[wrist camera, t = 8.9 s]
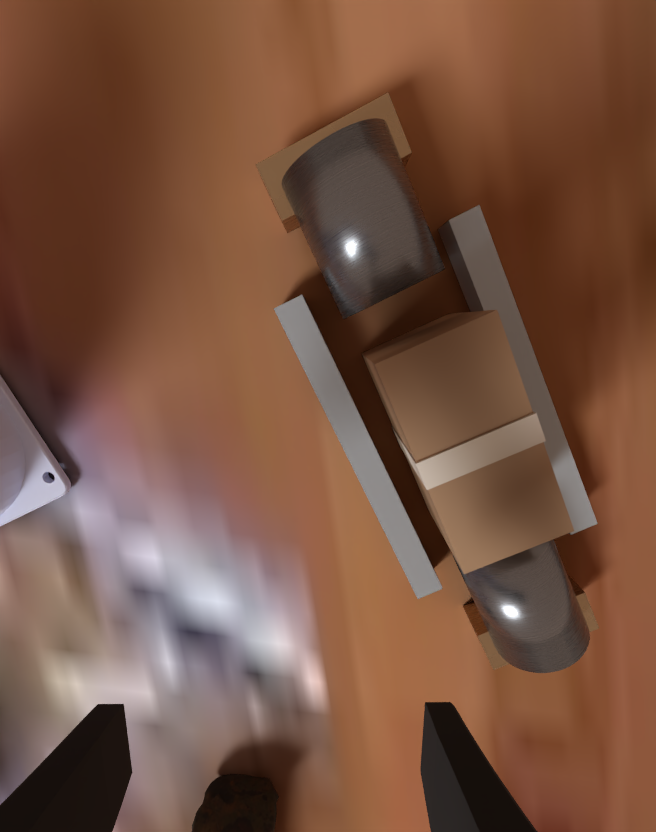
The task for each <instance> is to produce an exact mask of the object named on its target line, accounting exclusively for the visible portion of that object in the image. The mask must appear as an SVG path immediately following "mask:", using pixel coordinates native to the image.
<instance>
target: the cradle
mask: <svg viewBox="0 0 656 832" xmlns="http://www.w3.org/2000/svg"><path fill="white" fill-rule="evenodd" d="M438 231H439V233H440V236H441V239H442V241H443V244H444V246H445V249H446V251H447V254H448V256H449V259H450V261H451V264H452V266H453V269H454V271H455V274H456V276H457V279H458V282H459V284H460V287H461V289H462V292H463V294H464V297H465V299H466V302H467V304H468V307H469V309H470V312H475V311H487V310H497V311H498V313H499V316H500V319H501V322H502V325H503V328H504V331H505V333H506V336H507V339H508V342H509V345H510V348H511V351H512V353H513V356H514V359H515V362H516V365H517V368H518V371H519V373H520V376H521V379H522V382H523V385H524V388H525V391H526V394H527V396H528V399H529V402H530V405H531V408H532V411H533V412H535V413H537V416H538V419H539V422H540V425H541V428H542V431H543V434H544V436H545V439H546V441H545V442H544V445H545V448H546V451H547V454H548V457H549V459H550V462H551V465H552V468H553V471H554V474H555V477H556V479H557V482H558V485H559V488H560V491H561V494H562V497H563V499H564V502H565V505H566V508H567V511H568V514H569V517H570V520H571V522H572V525H573V528H574V531H573V532H570V533H569V534H571V535H572V534H574V533H577V532H579V531H581V530H584V529H586V528H588V527H591V526H593V525H596V524H598V523H597V521H596V518H595V515H594V513H593V510H592V507H591V505H590V502H589V499H588V496H587V494H586V491H585V488H584V486H583V483H582V480H581V478H580V475H579V472H578V469H577V467H576V464H575V461H574V459H573V456H572V453H571V451H570V448H569V445H568V442H567V440H566V437H565V434H564V432H563V429H562V426H561V424H560V421H559V418H558V415H557V413H556V410H555V407H554V405H553V402H552V399H551V397H550V394H549V391H548V388H547V386H546V383H545V380H544V378H543V375H542V372H541V370H540V367H539V364H538V361H537V359H536V356H535V353H534V351H533V348H532V345H531V343H530V340H529V337H528V335H527V332H526V329H525V326H524V324H523V321H522V318H521V316H520V313H519V310H518V308H517V305H516V302H515V299H514V297H513V294H512V291H511V289H510V286H509V283H508V281H507V278H506V275H505V272H504V270H503V267H502V264H501V262H500V259H499V256H498V254H497V251H496V248H495V245H494V243H493V240H492V237H491V235H490V232H489V229H488V227H487V224H486V221H485V218H484V216H483V213H482V210H481V208H480V205H478V206H476V207H474V208H472V209H470V210H468V211H466V212H464V213H462V214H460V215H458V216H456V217H454V218H452V219H450V220H448V221H447V222H446V223H445V224H444V225H443V226H441V227H440V228H439V229H438ZM274 310H275V312H276V314H277V316H278V318H279V320H280V322H281V324H282V326H283V328H284V330H285V332H286V334H287V336H288V338H289V340H290V342H291V344H292V346H293V348H294V350H295V352H296V354H297V356H298V359H299V361H300V363H301V365H302V367H303V369H304V371H305V373H306V375H307V377H308V379H309V381H310V383H311V385H312V387H313V389H314V391H315V393H316V395H317V397H318V399H319V401H320V403H321V405H322V407H323V409H324V411H325V413H326V415H327V417H328V419H329V421H330V423H331V425H332V427H333V429H334V431H335V433H336V435H337V437H338V439H339V441H340V443H341V445H342V447H343V449H344V451H345V453H346V455H347V457H348V459H349V461H350V463H351V465H352V467H353V469H354V471H355V473H356V475H357V477H358V479H359V481H360V483H361V485H362V487H363V490H364V492H365V494H366V496H367V498H368V500H369V502H370V504H371V506H372V508H373V510H374V512H375V514H376V516H377V518H378V520H379V522H380V524H381V526H382V528H383V530H384V532H385V534H386V536H387V538H388V540H389V542H390V544H391V546H392V548H393V550H394V552H395V554H396V556H397V558H398V560H399V562H400V564H401V566H402V568H403V570H404V572H405V574H406V576H407V578H408V580H409V582H410V584H411V586H412V588H413V590H414V592H415V594H416V596H417V598H418V599H419V598H422V597H424V596H426V595H429V594H431V593H433V592H436V591H438V590H441V589H443V588H442V586H441V584H440V582H439V579H438V577H437V575H436V573H435V570H434V568H433V566H432V564H431V562H430V560H429V558H428V556H427V553H426V551H425V549H424V547H423V545H422V543H421V541H420V539H419V537H418V535H417V532H416V530H415V528H414V526H413V524H412V522H411V520H410V518H409V516H408V514H407V512H406V509H405V507H404V505H403V503H402V501H401V499H400V497H399V495H398V493H397V491H396V489H395V486H394V484H393V482H392V480H391V478H390V476H389V474H388V472H387V470H386V468H385V466H384V463H383V461H382V459H381V457H380V455H379V453H378V451H377V449H376V447H375V445H374V442H373V440H372V438H371V436H370V434H369V432H368V430H367V428H366V426H365V424H364V422H363V419H362V417H361V415H360V413H359V411H358V409H357V407H356V405H355V403H354V401H353V399H352V396H351V394H350V392H349V390H348V388H347V386H346V384H345V382H344V380H343V378H342V376H341V373H340V371H339V369H338V367H337V365H336V363H335V361H334V359H333V357H332V355H331V352H330V350H329V348H328V346H327V344H326V342H325V340H324V338H323V336H322V334H321V332H320V329H319V327H318V325H317V323H316V321H315V319H314V317H313V315H312V313H311V311H310V309H309V306H308V304H307V302H306V300H305V298H304V296H303V295H300V296H298V297H296V298H294V299H292V300H290V301H288V302H286V303H284V304H282V305H280V306H278V307H276V308H274Z"/></svg>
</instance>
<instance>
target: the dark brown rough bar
mask: <svg viewBox="0 0 656 832" xmlns="http://www.w3.org/2000/svg"><path fill="white" fill-rule="evenodd" d="M278 798H279V796H278V794H277V793H276V791H275V789H274V787H273V785H272V783H271V781H270V780H269V779H268V778H259V777H252V776H248V775H234V774H230V775H224V776H220V777H218V778H217V779H215V780H214V781H213V782H212V783H211V784H210V785H209V787H208V788H207V790H206V792H205V797H204V801H203V804H202V805H201V806H200V808H199V809H198V811H197V813H196V816H195V819H194V822H193V825H192V832H274V829H275V822H276V814H277V812H276V802H277V800H278Z"/></svg>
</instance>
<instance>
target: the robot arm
mask: <svg viewBox="0 0 656 832" xmlns="http://www.w3.org/2000/svg"><path fill="white" fill-rule="evenodd" d="M49 472H50V473H52V474H53V475H54V477H55V479H54V480H53V479H51V478H50V477H49V475H48V473H49ZM70 489H71V482H70V480H69V478H68V477H67V475H66V474H65V472H64V471H63V469H62V468H61V466H60V465H59V463H58V462H57V460H56V459H55V457H54V456H53V454H52V453H51V451H50V450H49V448H48V447H47V445H46V444H45V442H44V441H43V439H42V438H41V436H40V434H39V433H38V431H37V430H36V428H35V427H34V425H33V424H32V422H31V421H30V419H29V418H28V416H27V415H26V413H25V412H24V410H23V409H22V407H21V406H20V404H19V403H18V401H17V400H16V398H15V397H14V395H13V394H12V392H11V390H10V389H9V387H8V386H7V384H6V383H5V381H4V380H3V378H2V377H1V375H0V526H2V525H4V524H6V523H8V522H10V521H12V520H14V519H16V518H18V517H21V516H23V515H25V514H27V513H29V512H31V511H33V510H35V509H37V508H39V507H41V506H43V505H45V504H47V503H49V502H51V501H54V500H56V499H58V498H60V497H62V496H63V495H65V494H66V493H68V492H69V491H70ZM131 774H132V767H131V759H130V751H129V743H128V735H127V727H126V719H125V711H124V704H98V705H97V706H96V707H95V708H94V709H93V710H92V711H91V712H90V713H89V714H88V715H87V716H86V717H85V718H84V719H83V720H82V721H81V722H80V723H79V724H78V725H77V726H76V727H75V728H74V729H73V731H72V732H71V733H70V734H69V735H68V736H67V737H66V738H65V739H64V740H63V741H62V742H61V743H60V744H59V745H58V746H57V747H56V748H55V750H54V751H53V752H52V753H51V754H50V755H49V756H48V757H47V758H46V759H45V760H44V761H43V762H42V763H41V764H40V765H39V766H38V767H37V768H36V769H35V770H34V771H33V772H32V773H31V774H30V775H29V776H28V777H27V779H26V780H25V781H24V782H23V783H22V784H21V785H20V786H19V787H18V788H17V789H16V790H15V791H14V792H13V793H12V794H11V795H10V796H9V797H8V798H7V799H6V800H5V801H4V802H3V803H2V804H1V805H0V832H112V831H113V828H114V825H115V822H116V819H117V816H118V814H119V811H120V808H121V805H122V802H123V799H124V796H125V793H126V790H127V786H128V783H129V780H130V777H131ZM421 776H422V782H423V788H424V794H425V800H426V806H427V812H428V817H429V823H430V828H431V832H537V831H536V829H535V828H534V827H533V825H532V824H531V823H530V821H529V820H528V818H527V817H526V816H525V814H524V813H523V811H522V810H521V809H520V807H519V806H518V804H517V803H516V801H515V800H514V798H513V797H512V796H511V794H510V793H509V791H508V790H507V788H506V787H505V785H504V784H503V783H502V781H501V780H500V778H499V777H498V775H497V774H496V772H495V771H494V769H493V768H492V766H491V765H490V763H489V762H488V760H487V758H486V757H485V755H484V754H483V752H482V751H481V749H480V748H479V746H478V744H477V743H476V741H475V740H474V738H473V736H472V735H471V733H470V732H469V730H468V728H467V727H466V725H465V723H464V722H463V720H462V718H461V717H460V715H459V713H458V711H457V710H456V708H455V706H454V705H453V704H452V703H451V702H425V712H424V727H423V741H422V756H421Z"/></svg>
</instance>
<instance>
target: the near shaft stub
mask: <svg viewBox="0 0 656 832" xmlns="http://www.w3.org/2000/svg"><path fill="white" fill-rule="evenodd" d="M411 153H412V151H411V149H410V146H409V144H408V141H407V139H406V136H405V134H404V131H403V129H402V126H401V123H400V121H399V118H398V116H397V113H396V111H395V108H394V106H393V103H392V101H391V98H390V96H389V93H386V94H384V95H382V96H381V97H379V98H377V99H375V100H373V101H371V102H370V103H368V104H366V105H364V106H362V107H360V108H358V109H357V110H355V111H353V112H351V113H349V114H347V115H346V116H344V117H342V118H340V119H338V120H336V121H335V122H333V123H331V124H329V125H327V126H325V127H324V128H322V129H320V130H318V131H316V132H314V133H313V134H311V135H309V136H307V137H305V138H303V139H302V140H300V141H298V142H296V143H294V144H292V145H290V146H289V147H287V148H285V149H283V150H281V151H279V152H278V153H276V154H274V155H272V156H270V157H268V158H267V159H265V160H263V161H261V162H259V163H257V164H256V167H257V169H258V171H259V173H260V176H261V178H262V180H263V182H264V185H265V187H266V189H267V191H268V193H269V195H270V197H271V200H272V202H273V204H274V206H275V208H276V210H277V212H278V214H279V217H280V219H281V221H282V223H283V225H284V227H285V229H286V231H287V233H289V232H290V231H292V230H294V229H296V228H298V227H301V229H302V231H303V233H304V235H305V237H306V240H307V242H308V244H309V246H310V248H311V250H312V253H313V255H314V257H315V259H316V261H317V263H318V266H319V268H320V270H321V272H322V274H323V276H324V279H325V281H326V283H327V285H328V287H329V289H330V291H331V294H332V296H333V298H334V300H335V302H336V304H337V307H338V309H339V311H340V313H341V315H342V317H343V319H345V318H347V317H349V316H351V315H353V314H355V313H357V312H359V311H361V310H364V309H366V308H368V307H370V306H372V305H374V304H376V303H378V302H380V301H382V300H384V299H386V298H388V297H390V296H392V295H394V294H396V293H398V292H400V291H402V290H404V289H406V288H408V287H410V286H412V285H414V284H416V283H418V282H420V281H422V280H424V279H426V278H428V277H430V276H432V275H434V274H436V273H438V272H440V271H442V270H444V269H445V267H444V265H443V262H442V260H441V257H440V255H439V252H438V250H437V247H436V245H435V242H434V240H433V237H432V235H431V232H430V230H429V227H428V225H427V222H426V220H425V217H424V215H423V212H422V210H421V207H420V205H419V202H418V200H417V197H416V195H415V192H414V190H413V187H412V185H411V182H410V180H409V177H408V175H407V172H406V170H405V165H406V163H407V161H408V159H409V157H410V155H411Z"/></svg>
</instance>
